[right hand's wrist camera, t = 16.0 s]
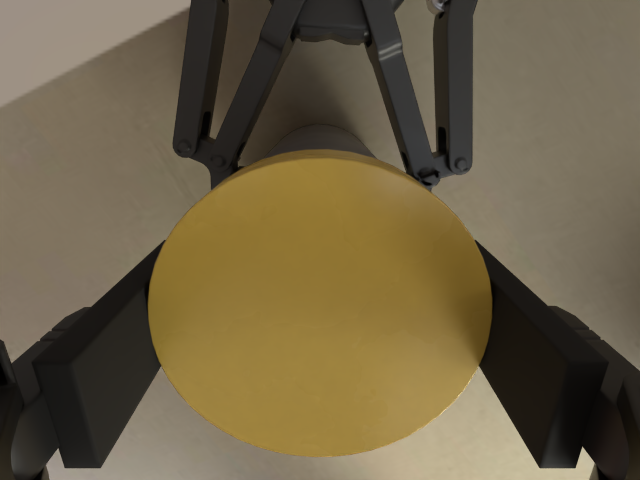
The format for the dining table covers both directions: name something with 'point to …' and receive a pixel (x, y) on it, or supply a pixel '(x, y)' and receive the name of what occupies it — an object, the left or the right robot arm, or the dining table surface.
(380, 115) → the dining table surface
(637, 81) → the dining table surface
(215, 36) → the left robot arm
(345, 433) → the lid
